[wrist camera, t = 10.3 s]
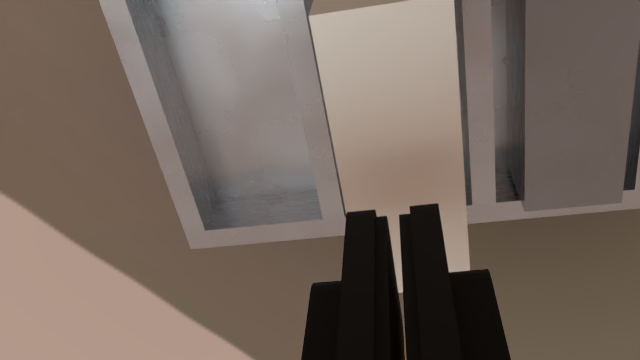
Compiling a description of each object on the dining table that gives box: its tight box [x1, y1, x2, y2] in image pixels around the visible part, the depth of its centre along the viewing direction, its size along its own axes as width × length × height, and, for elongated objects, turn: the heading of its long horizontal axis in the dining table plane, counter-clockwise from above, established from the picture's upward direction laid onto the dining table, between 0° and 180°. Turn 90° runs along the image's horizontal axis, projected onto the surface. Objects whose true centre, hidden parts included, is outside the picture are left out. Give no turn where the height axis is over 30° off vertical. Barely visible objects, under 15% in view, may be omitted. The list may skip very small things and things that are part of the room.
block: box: [309, 0, 470, 293], centre depth 17 cm, size 3×8×7 cm, turn 10°
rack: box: [99, 0, 640, 249], centre depth 19 cm, size 17×11×4 cm
